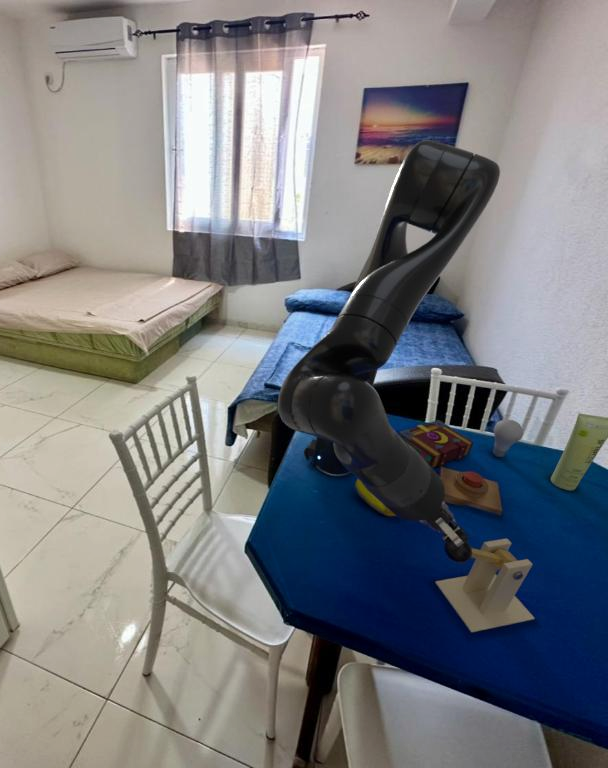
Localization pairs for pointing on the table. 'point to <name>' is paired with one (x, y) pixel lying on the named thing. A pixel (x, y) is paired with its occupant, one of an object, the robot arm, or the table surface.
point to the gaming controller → (372, 499)
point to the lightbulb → (506, 436)
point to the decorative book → (437, 443)
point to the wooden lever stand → (489, 592)
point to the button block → (470, 492)
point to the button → (473, 479)
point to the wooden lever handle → (479, 555)
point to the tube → (580, 450)
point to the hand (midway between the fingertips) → (455, 533)
